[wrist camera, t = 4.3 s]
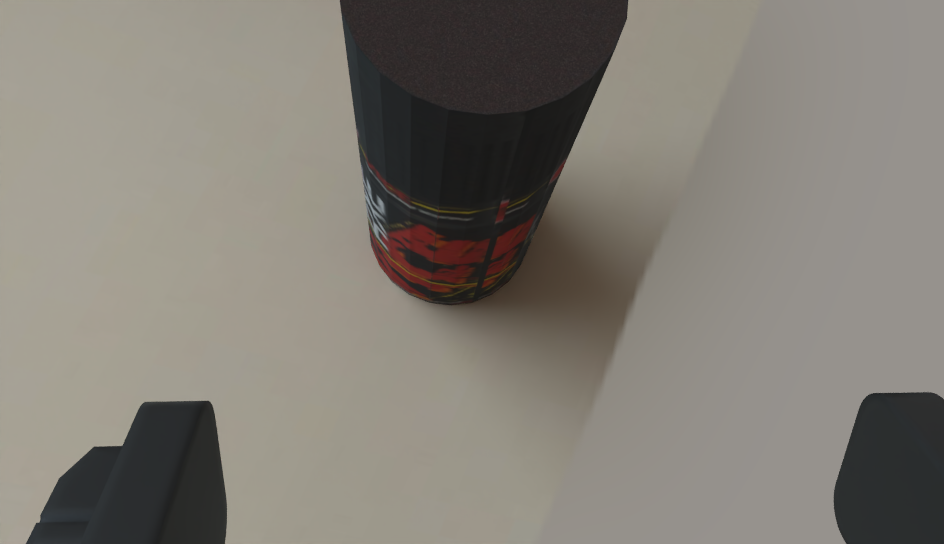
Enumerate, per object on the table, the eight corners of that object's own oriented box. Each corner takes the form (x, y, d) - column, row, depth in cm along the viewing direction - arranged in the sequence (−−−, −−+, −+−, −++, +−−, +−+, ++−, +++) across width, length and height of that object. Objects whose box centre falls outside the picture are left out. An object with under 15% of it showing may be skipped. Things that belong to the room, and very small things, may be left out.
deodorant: (335, 226, 31) (274, -25, 17) (449, 123, 33) (481, -187, 19) (450, 338, 31) (489, 173, 16) (562, 227, 32) (687, -13, 18)
